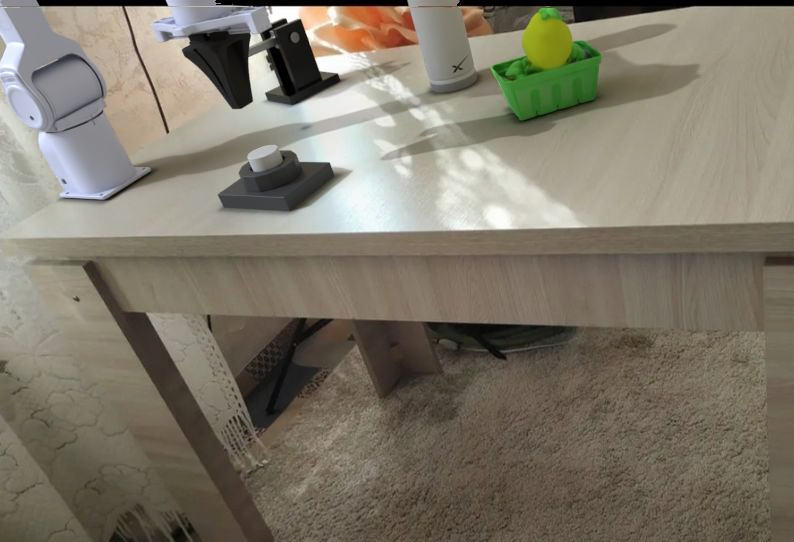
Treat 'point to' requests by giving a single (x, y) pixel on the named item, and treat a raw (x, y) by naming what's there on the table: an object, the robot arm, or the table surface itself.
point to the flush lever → (263, 45)
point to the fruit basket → (548, 68)
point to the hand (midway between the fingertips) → (242, 105)
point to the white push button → (265, 158)
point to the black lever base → (294, 64)
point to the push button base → (276, 184)
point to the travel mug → (443, 44)
